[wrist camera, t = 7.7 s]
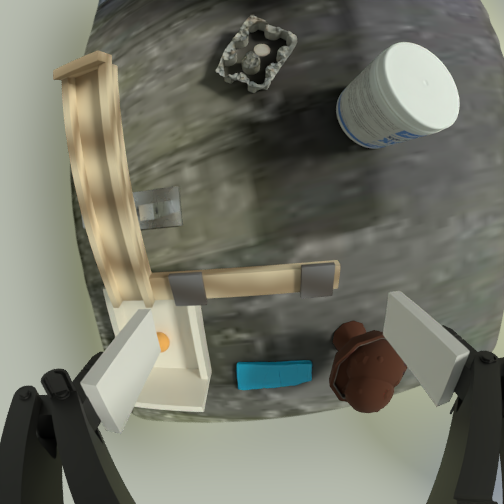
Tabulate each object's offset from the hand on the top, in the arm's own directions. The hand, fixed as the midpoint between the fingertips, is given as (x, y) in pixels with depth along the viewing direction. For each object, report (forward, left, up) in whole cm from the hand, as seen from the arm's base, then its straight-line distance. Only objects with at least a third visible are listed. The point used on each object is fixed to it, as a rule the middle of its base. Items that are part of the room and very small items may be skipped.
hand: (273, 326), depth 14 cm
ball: (+13, -15, -20) cm, 28 cm away
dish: (+11, -15, -22) cm, 29 cm away
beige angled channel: (-9, -5, -13) cm, 17 cm away
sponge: (+21, +1, -23) cm, 31 cm away
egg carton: (-25, +2, -22) cm, 34 cm away
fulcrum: (-6, -15, -22) cm, 27 cm away
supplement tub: (-17, +16, -22) cm, 32 cm away
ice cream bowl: (+15, +13, -22) cm, 30 cm away
